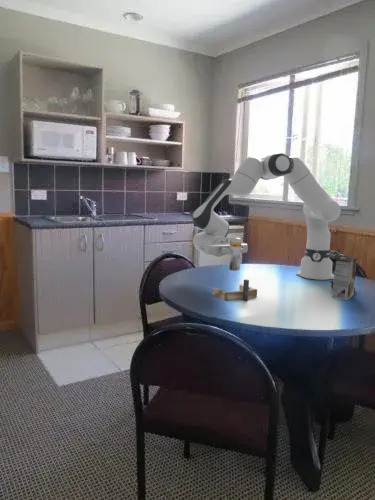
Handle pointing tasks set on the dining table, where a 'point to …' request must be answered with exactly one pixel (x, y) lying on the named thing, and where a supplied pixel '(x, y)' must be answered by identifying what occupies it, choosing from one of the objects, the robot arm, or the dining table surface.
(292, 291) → the dining table surface
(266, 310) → the dining table surface
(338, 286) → the coffee box
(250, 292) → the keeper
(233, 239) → the silver metal cylinder
